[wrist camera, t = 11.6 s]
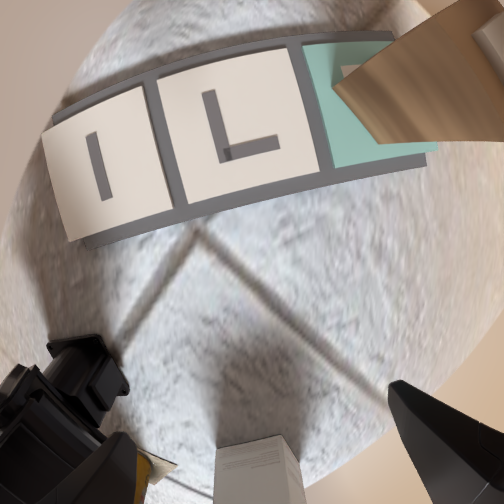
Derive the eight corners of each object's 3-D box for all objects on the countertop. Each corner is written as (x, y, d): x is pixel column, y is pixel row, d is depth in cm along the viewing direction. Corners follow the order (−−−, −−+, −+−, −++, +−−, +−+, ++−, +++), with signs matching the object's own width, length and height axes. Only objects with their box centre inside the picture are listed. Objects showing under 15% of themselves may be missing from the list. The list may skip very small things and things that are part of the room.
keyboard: (84, 249, 20) (73, 256, 18) (50, 122, 17) (37, 121, 15) (428, 163, 19) (441, 164, 17) (395, 36, 16) (406, 29, 14)
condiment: (110, 433, 26) (79, 519, 14) (178, 464, 27) (165, 551, 16) (95, 455, 27) (69, 527, 16) (155, 483, 29) (141, 556, 18)
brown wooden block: (378, 144, 17) (524, 142, 6) (331, 88, 16) (444, 10, 5) (419, 106, 16) (558, 84, 5) (377, 52, 15) (495, -20, 4)
